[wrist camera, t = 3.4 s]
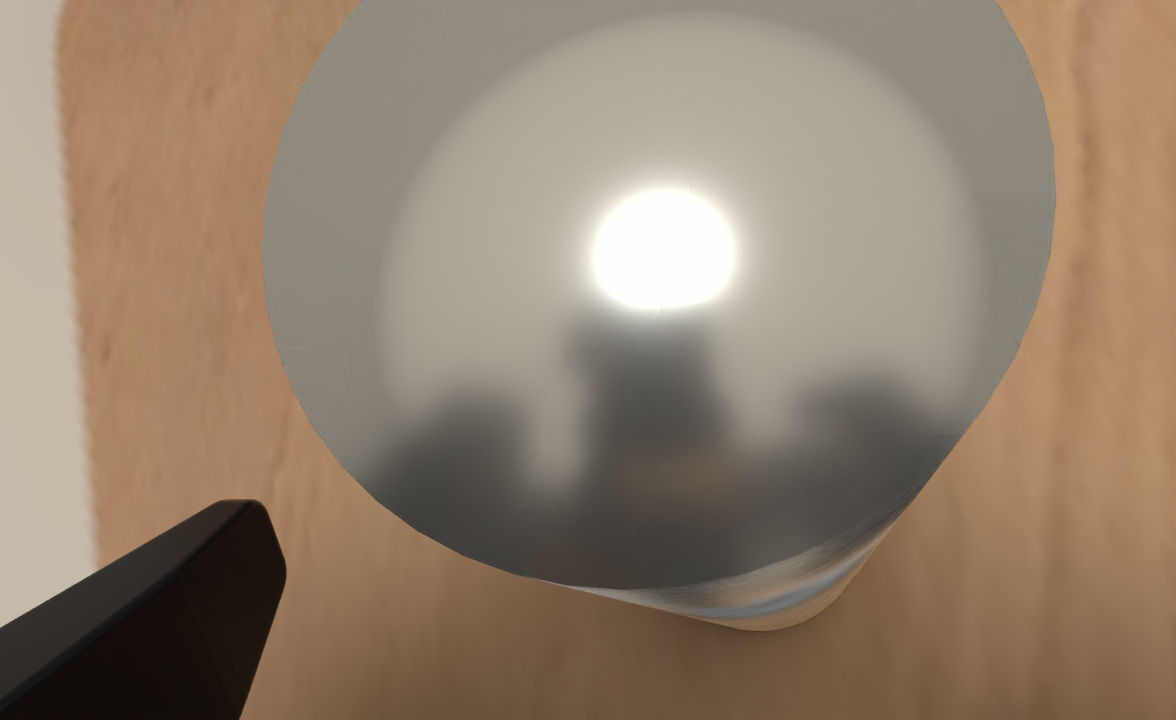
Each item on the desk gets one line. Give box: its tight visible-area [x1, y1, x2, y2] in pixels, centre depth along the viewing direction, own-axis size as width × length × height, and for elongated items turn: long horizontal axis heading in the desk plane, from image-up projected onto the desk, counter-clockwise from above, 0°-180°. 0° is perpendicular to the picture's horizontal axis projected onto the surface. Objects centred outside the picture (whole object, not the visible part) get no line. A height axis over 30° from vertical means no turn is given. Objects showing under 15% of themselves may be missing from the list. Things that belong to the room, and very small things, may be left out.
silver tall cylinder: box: [262, 0, 1056, 631], centre depth 12 cm, size 4×4×14 cm
